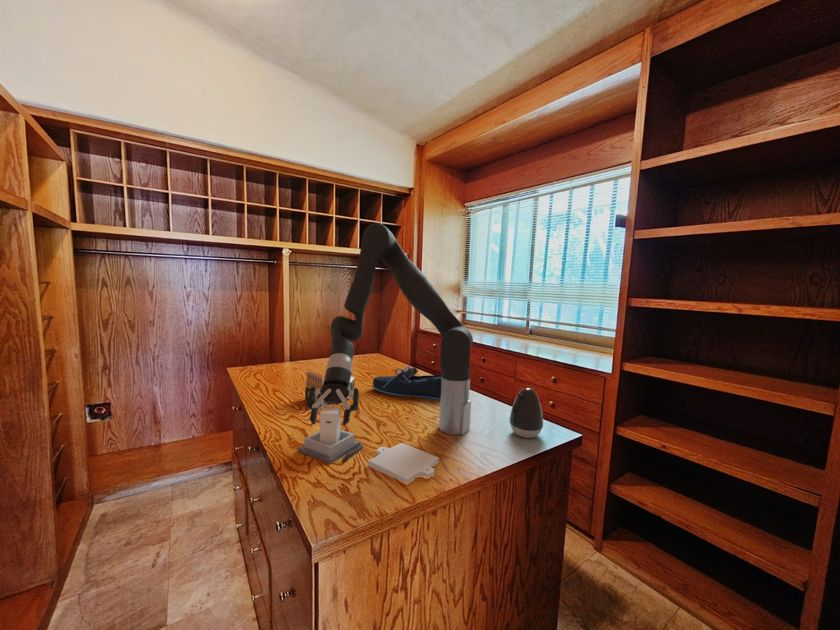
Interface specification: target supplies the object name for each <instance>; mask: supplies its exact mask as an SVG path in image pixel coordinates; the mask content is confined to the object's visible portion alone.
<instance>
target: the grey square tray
mask: <svg viewBox="0 0 840 630" xmlns="http://www.w3.org/2000/svg"><path fill="white" fill-rule="evenodd" d="M355 436H356V435H355V433H353V432H349V431H346V430H343V429H340V441H338V442H336V443H335V444H333V445H331V446H330V445H327V444H324V443H321V442H320V430H318V431H317V432H314V433H313V434H311V435H309V436H307V437H304V442H303V443H304V444H303V445H301V446H298V447H297V452H299V453H301V454H303V455H307V456H309V457H312V458H314V459H317V460H319V461H321V462H325V463H327V464H330V465H331V464H333V463H334V462H336V461H338V460H339V459H341V458H344V457H345V456H346V455H348V454H349V453H350V452H352V451H353V450H354V449H356V448H357V447H358V446H360V445H361V443H362V442H361V441H358V440H355Z"/></svg>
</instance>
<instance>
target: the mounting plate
mask: <svg viewBox="0 0 840 630" xmlns="http://www.w3.org/2000/svg"><path fill="white" fill-rule="evenodd" d="M439 462H440V458H439V457H438V456H435V455H433V454H431V453H428V452H425V451H423V450H421V449H418V448H416V447H413V446H411V445H409V444H406V443H404V442H400V443H398V444H397V445H394V446H393V447H386V446H380V447H379V448H377V449H376V456H374V457H372V458H370V459H368V467H369V468H372V469H374V470H375V471H378V472H379V471H380V473H381V472H382V474H383V473H384V475H385V474H387V475H389V476H391V477H393V478H395V479H398V480H400V481H402V482H405V483H407V484H408V483H409V482H410V481H412V480H413V479H415V478H416V477H418V476H425V477H431V476H433V475H434V476H435V468H434V467H433V468H432V466H434V465H436V464H437V463H439ZM439 464H440V463H439ZM437 465H438V464H437ZM437 465H436V466H437ZM387 475H386V476H387ZM389 476H388V477H389ZM391 477H390V478H391ZM393 478H392V479H393ZM395 479H394V480H395Z"/></svg>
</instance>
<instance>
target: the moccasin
mask: <svg viewBox="0 0 840 630" xmlns="http://www.w3.org/2000/svg"><path fill="white" fill-rule="evenodd" d="M399 370H400V371H401V372H400V371H399ZM398 371H399V372H398ZM397 372H398V373H397ZM417 373H418V369H417V368H416V367H410V365H406V366H405V367H404V368H403V369H402V368H401V367H397V368H396V369H395V371H394V374H395V375H387V376H386V375H385V376H383V375H382V376H375V377H374V378H373V380H372V389H374V390H376V391H378V392H380V393H384V394H388V395H392V396H395V397H396V396H397V397H411V396H414V397H413V398H424V399H433V400H439V401H440V393H441V373H440V374H432V375H431V374H430V375H428V374H427V375H416V374H417Z"/></svg>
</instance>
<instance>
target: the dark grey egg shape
mask: <svg viewBox="0 0 840 630" xmlns="http://www.w3.org/2000/svg"><path fill="white" fill-rule="evenodd" d="M509 424H510V427H511V430H512V431H513V432H514V434H515V435H517V436H519V437H520V436H521V438H523V437H525V439H532V438H536V437H537V436H538V435H539V434H540V433H541V432H542V430H543V427H544V414H543V410H542V405H541V402H540V398H539V396H538V394H537V392H536V391H535V390H534V389H533V388H531V387H524V388H522V389H520V391H519V392H518V393H517V395H516V397H515V399H514V401H513V404H512V407H511V410H510V415H509Z"/></svg>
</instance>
